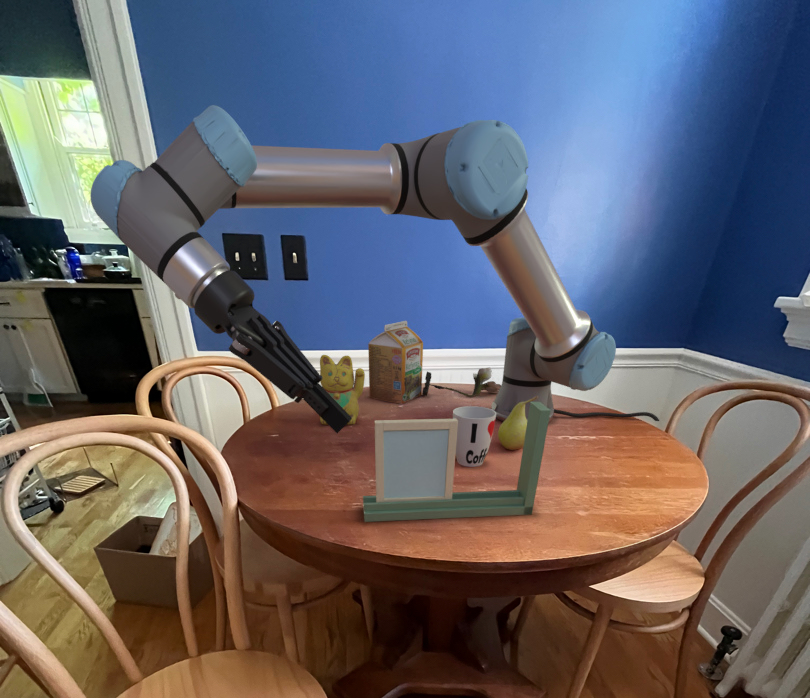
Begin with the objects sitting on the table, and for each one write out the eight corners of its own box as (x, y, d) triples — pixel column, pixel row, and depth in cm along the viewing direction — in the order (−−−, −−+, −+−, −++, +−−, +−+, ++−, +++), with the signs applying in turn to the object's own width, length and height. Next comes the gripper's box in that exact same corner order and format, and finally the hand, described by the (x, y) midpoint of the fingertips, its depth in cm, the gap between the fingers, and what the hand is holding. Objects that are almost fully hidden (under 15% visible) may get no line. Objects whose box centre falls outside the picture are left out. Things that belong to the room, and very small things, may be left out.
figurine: (317, 425, 112) (311, 358, 104) (321, 414, 119) (316, 351, 111) (365, 425, 113) (363, 359, 105) (366, 414, 120) (364, 351, 112)
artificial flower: (420, 395, 140) (425, 359, 137) (495, 406, 141) (502, 371, 138) (421, 395, 131) (427, 356, 129) (501, 406, 132) (508, 369, 130)
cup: (464, 472, 90) (468, 421, 85) (441, 458, 97) (444, 408, 91) (498, 465, 94) (505, 415, 88) (475, 451, 100) (479, 403, 94)
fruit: (508, 440, 106) (516, 385, 99) (537, 450, 101) (547, 392, 95) (490, 448, 102) (496, 391, 95) (520, 458, 97) (529, 399, 91)
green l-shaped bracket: (523, 502, 81) (539, 401, 72) (532, 514, 77) (550, 410, 68) (363, 508, 78) (359, 404, 69) (364, 522, 74) (360, 414, 65)
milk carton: (401, 403, 128) (402, 327, 118) (369, 397, 133) (367, 323, 123) (421, 395, 136) (423, 322, 126) (390, 389, 141) (390, 318, 130)
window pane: (450, 499, 77) (456, 418, 70) (451, 503, 76) (458, 421, 69) (376, 502, 76) (374, 420, 69) (376, 506, 75) (375, 422, 68)
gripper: (221, 306, 68) (340, 427, 75) (169, 318, 58) (313, 459, 64) (250, 265, 65) (372, 396, 72) (201, 269, 54) (350, 423, 61)
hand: (344, 425), depth 68 cm, fingers closed
